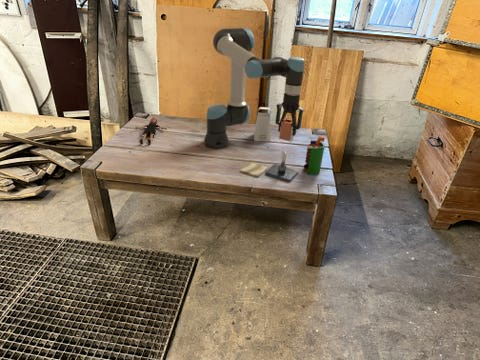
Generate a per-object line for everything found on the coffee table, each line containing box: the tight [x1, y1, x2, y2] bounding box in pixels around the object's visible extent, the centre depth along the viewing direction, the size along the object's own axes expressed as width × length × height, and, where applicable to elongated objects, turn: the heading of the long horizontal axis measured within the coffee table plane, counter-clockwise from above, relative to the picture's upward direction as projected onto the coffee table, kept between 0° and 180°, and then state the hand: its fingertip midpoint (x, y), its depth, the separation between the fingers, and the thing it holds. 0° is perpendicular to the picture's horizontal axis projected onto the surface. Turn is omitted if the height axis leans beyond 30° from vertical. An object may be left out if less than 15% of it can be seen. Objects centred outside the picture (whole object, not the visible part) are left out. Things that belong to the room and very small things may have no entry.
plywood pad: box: [239, 161, 269, 178], centre depth 172 cm, size 11×11×1 cm
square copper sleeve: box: [278, 118, 293, 142], centre depth 157 cm, size 5×5×9 cm
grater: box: [253, 106, 272, 143], centre depth 204 cm, size 10×10×20 cm
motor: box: [302, 135, 326, 176], centre depth 170 cm, size 10×9×20 cm
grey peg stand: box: [264, 151, 299, 183], centre depth 167 cm, size 14×11×12 cm
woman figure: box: [134, 117, 167, 146], centre depth 206 cm, size 20×6×35 cm
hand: (285, 139), depth 160 cm, fingers closed on square copper sleeve, 5 cm apart
